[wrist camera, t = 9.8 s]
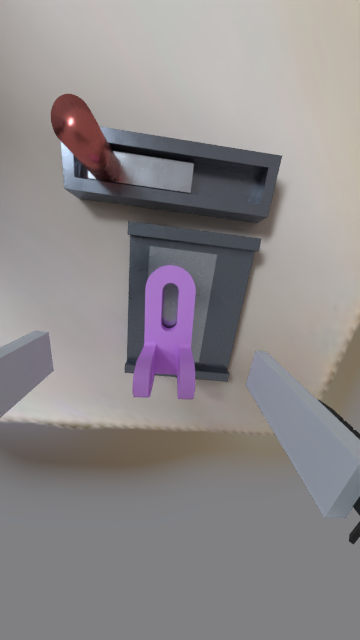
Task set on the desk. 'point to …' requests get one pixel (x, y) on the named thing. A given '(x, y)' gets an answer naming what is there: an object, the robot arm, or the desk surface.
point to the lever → (113, 152)
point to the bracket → (167, 335)
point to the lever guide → (207, 181)
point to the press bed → (210, 282)
